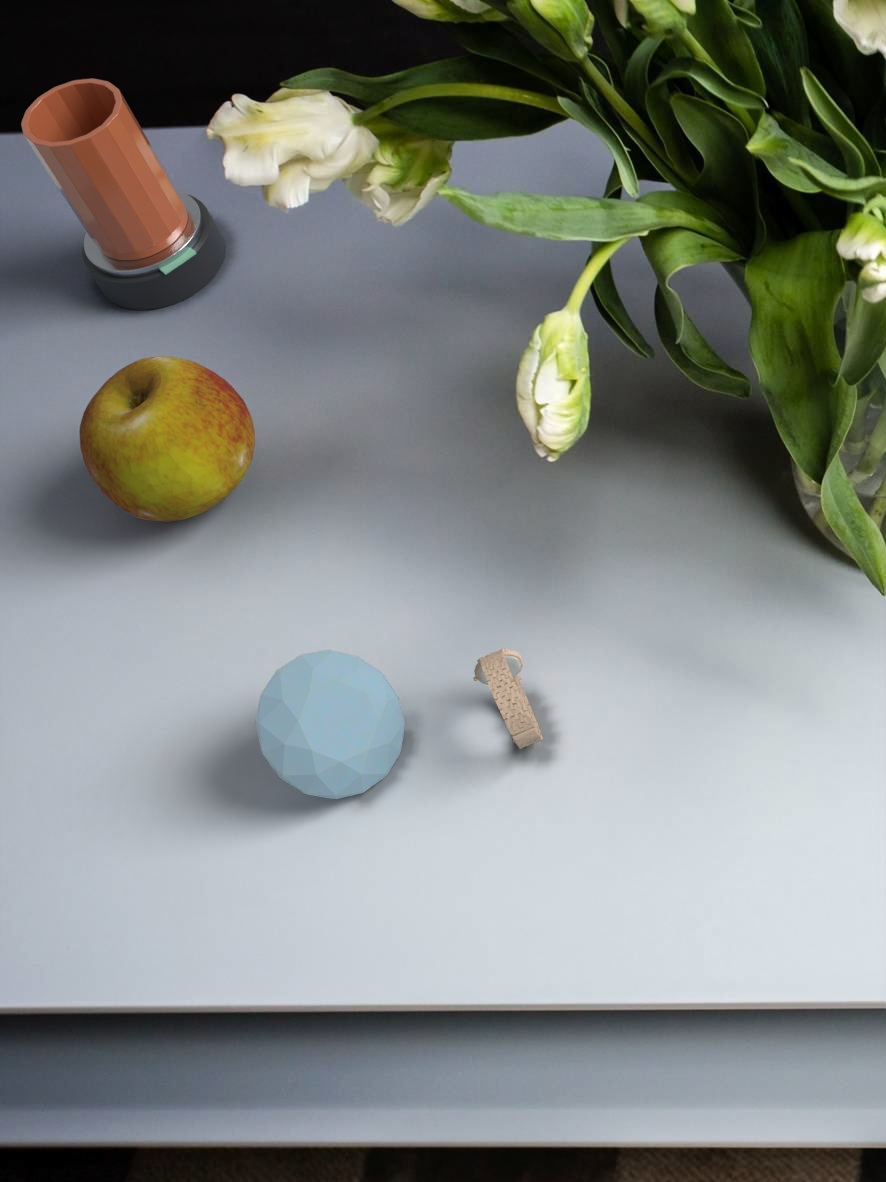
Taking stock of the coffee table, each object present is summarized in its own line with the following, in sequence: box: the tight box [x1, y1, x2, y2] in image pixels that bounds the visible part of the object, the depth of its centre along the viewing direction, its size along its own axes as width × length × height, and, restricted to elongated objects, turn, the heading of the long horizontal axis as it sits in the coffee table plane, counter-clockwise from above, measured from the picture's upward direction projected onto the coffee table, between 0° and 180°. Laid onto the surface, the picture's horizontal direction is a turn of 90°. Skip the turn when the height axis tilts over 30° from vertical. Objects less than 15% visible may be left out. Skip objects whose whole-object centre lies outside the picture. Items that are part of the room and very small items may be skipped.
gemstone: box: [255, 649, 406, 800], centre depth 84 cm, size 8×8×5 cm
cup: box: [20, 78, 188, 261], centre depth 100 cm, size 6×6×9 cm
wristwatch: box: [472, 647, 544, 750], centre depth 82 cm, size 3×5×5 cm, turn 24°
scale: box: [81, 189, 227, 311], centre depth 105 cm, size 8×8×3 cm
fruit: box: [79, 355, 256, 523], centre depth 93 cm, size 10×9×8 cm
